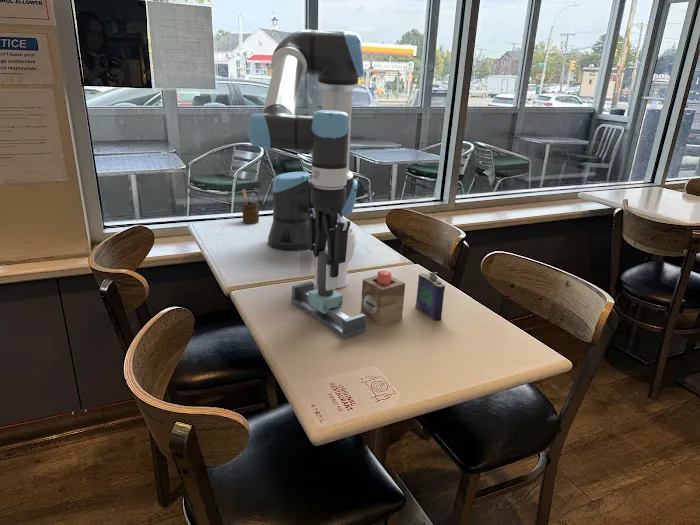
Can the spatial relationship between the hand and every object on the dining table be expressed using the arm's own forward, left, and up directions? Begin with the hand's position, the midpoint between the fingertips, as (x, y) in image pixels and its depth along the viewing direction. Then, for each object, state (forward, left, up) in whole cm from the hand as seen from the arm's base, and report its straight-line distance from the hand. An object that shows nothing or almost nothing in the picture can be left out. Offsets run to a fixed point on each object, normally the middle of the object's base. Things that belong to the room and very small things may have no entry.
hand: (325, 285), depth 115 cm
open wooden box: (+8, +11, -8) cm, 15 cm away
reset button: (+8, +11, -1) cm, 13 cm away
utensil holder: (-77, +20, -8) cm, 80 cm away
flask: (+13, +22, -8) cm, 27 cm away
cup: (-14, +13, -8) cm, 21 cm away
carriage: (0, 0, -5) cm, 5 cm away
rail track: (+1, 0, -8) cm, 8 cm away
